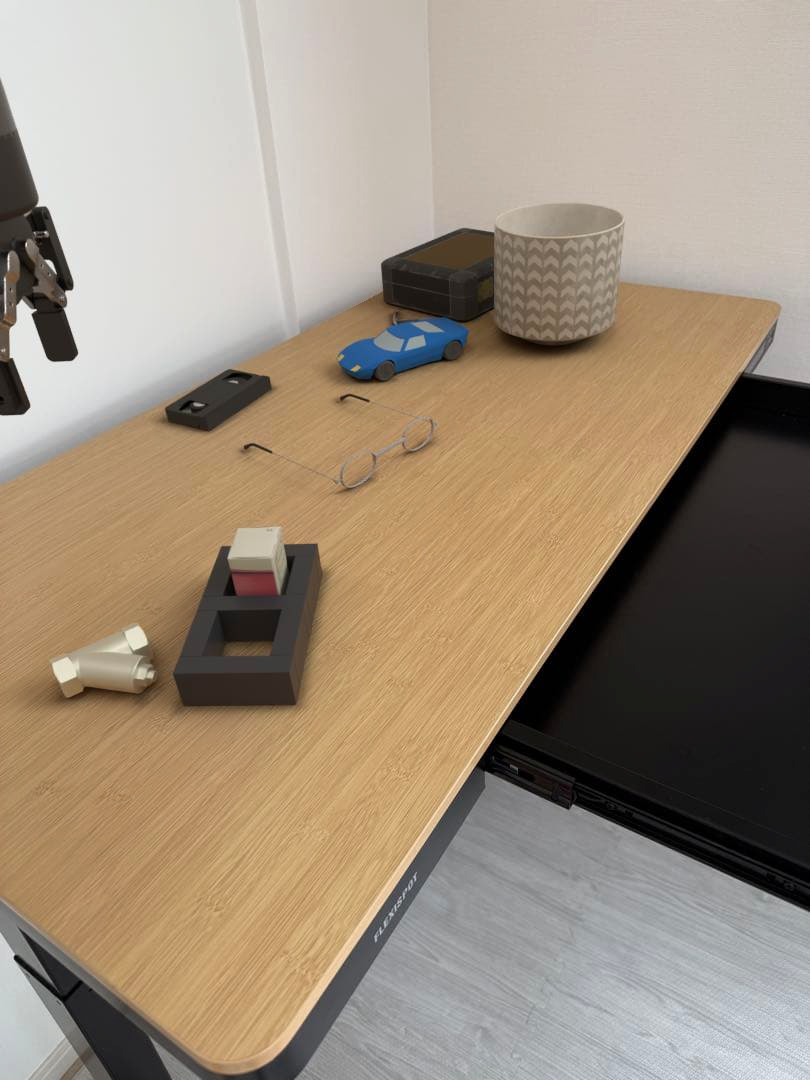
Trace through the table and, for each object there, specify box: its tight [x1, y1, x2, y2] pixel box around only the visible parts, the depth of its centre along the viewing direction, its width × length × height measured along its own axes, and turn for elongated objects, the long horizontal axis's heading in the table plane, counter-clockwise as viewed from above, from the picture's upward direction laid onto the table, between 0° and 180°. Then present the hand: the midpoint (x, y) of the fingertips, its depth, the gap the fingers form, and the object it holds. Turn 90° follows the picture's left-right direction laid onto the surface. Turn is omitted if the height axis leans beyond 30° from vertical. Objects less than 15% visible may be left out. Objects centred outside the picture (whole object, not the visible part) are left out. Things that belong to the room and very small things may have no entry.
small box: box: [228, 525, 290, 596], centre depth 76 cm, size 5×4×8 cm
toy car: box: [336, 317, 470, 382], centre depth 122 cm, size 9×20×5 cm, turn 121°
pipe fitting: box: [48, 621, 159, 699], centre depth 70 cm, size 8×4×7 cm
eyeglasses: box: [243, 393, 438, 489], centre depth 103 cm, size 18×19×4 cm
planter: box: [493, 201, 626, 347], centre depth 123 cm, size 19×19×18 cm
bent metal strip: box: [391, 309, 420, 325], centre depth 137 cm, size 7×1×5 cm
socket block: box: [172, 542, 323, 707], centre depth 74 cm, size 18×10×4 cm, turn 178°
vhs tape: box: [164, 368, 272, 432], centre depth 115 cm, size 14×8×2 cm, turn 150°
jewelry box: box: [380, 227, 494, 322], centre depth 145 cm, size 25×20×8 cm
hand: (40, 384), depth 56 cm, fingers open, 8 cm apart
